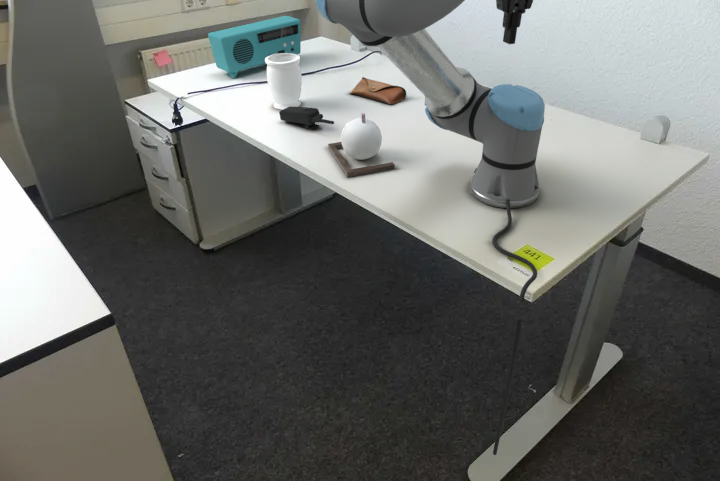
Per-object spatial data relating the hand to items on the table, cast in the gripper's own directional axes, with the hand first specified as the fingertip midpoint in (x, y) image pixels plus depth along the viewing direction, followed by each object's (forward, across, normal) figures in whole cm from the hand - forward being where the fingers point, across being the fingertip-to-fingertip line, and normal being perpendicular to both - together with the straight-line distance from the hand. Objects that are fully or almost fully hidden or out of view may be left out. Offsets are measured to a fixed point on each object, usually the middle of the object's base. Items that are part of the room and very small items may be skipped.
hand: (508, 42), depth 125 cm
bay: (+29, -32, +11) cm, 44 cm away
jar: (+29, -42, +54) cm, 74 cm away
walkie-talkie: (+29, -40, +35) cm, 60 cm away
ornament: (+29, -32, +11) cm, 45 cm away
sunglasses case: (+29, -13, +50) cm, 59 cm away
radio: (+29, -43, +95) cm, 108 cm away
